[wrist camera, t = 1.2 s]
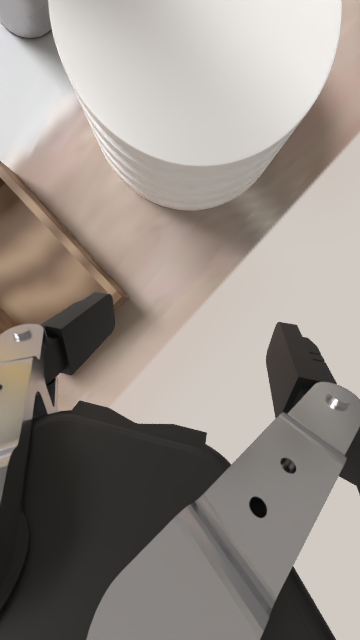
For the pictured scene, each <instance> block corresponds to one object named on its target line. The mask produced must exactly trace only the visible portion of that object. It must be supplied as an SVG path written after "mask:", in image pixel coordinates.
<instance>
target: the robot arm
mask: <svg viewBox="0 0 360 640" xmlns="http://www.w3.org/2000/svg"><path fill="white" fill-rule="evenodd" d="M0 22H1V23H2V25H3V26H4V27H5V28H6V29H8V30H9V31H10V32H12V33H14V34H16V35H18V36H21V37H25V38H34V37H39V36H42V35H44V34H46V33H47V32H49V31H50V30H51V29H52V27H51V21H50V14H49V4H48V0H0ZM114 326H115V317H114V306H113V298H112V295H111V294H107V293H101V292H94V293H92V294H91V295H89V296H88V297H86V298H85V299H83V300H81V301H78V302H75V303H73V304H72V305H70V306H69V307H67V309H64V310H63V311H61V313H58V314H56V315H55V316H53V317H52V318H50V319H49V320H47V321H45V322H44V323H42V324H41V325H37V324H23V325H19V326H15V327H12V328H10V329H8V330H6V331H5V332H3V333H2V334H1V336H0V640H336V639H335V637H334V635H333V634H332V632H331V630H330V629H329V627H328V625H327V623H326V622H325V620H324V618H323V617H322V615H321V613H320V611H319V610H318V608H317V606H316V605H315V603H314V601H313V599H312V598H311V596H310V594H309V593H308V591H307V589H306V588H305V586H304V584H303V582H302V581H301V579H300V577H299V575H298V574H297V572H296V570H295V569H294V567H293V565H294V563H295V561H296V559H297V557H298V555H299V553H300V551H301V549H302V547H303V545H304V543H305V541H306V539H307V537H308V535H309V533H310V531H311V529H312V527H313V525H314V523H315V521H316V519H317V517H318V515H319V513H320V511H321V509H322V507H323V506H324V504H325V502H326V500H327V497H328V496H329V494H330V492H331V490H332V488H333V486H334V484H335V482H336V480H337V478H338V476H340V477H342V478H343V479H345V480H347V481H349V482H351V483H352V484H354V485H356V486H357V488H358V491H359V493H360V399H359V398H358V397H357V396H356V395H355V394H353V393H352V392H350V391H349V390H347V389H345V388H343V387H342V386H339V385H337V383H336V381H335V379H334V378H333V376H332V374H331V372H330V370H329V368H328V366H327V365H326V363H324V359H323V358H322V356H321V353H320V351H319V349H318V348H317V346H316V345H315V344H314V343H313V342H312V341H310V340H309V339H308V338H305V337H302V335H301V333H300V331H299V329H298V326H297V325H294V324H288V323H282V322H278V323H277V324H276V327H275V330H274V332H273V335H272V338H271V341H270V344H269V348H268V350H267V356H266V365H267V371H268V377H269V383H270V388H271V394H272V400H273V406H274V412H275V417H276V419H275V420H274V421H273V422H272V423H271V424H270V425H269V426H268V427H267V428H266V429H265V430H264V431H263V432H262V434H261V435H260V436H259V437H258V438H257V439H256V440H255V441H254V442H253V443H252V444H251V445H250V446H249V447H248V448H247V449H246V450H245V451H244V452H243V453H242V454H241V455H240V457H239V458H238V459H237V460H236V461H235V462H234V463H233V464H232V465H231V464H230V463H229V462H228V461H227V460H226V459H225V458H224V457H223V456H222V455H221V454H220V453H218V452H217V451H216V450H214V449H213V448H211V447H210V446H208V445H206V444H205V442H206V435H207V433H206V432H202V431H198V430H194V429H190V428H186V427H182V426H178V425H174V424H137V423H134V422H132V421H131V420H129V419H127V418H125V417H124V416H122V415H120V414H118V413H117V412H115V411H113V410H111V409H110V408H107V407H103V406H99V405H95V404H91V403H87V402H83V401H79V402H78V403H77V405H76V406H75V407H74V408H73V410H69V411H60V412H58V378H57V375H58V374H59V373H64V374H68V375H73V374H74V373H75V372H76V371H77V369H78V368H79V367H80V366H81V365H82V364H83V363H84V362H85V361H86V360H87V359H88V358H89V357H90V355H91V354H92V353H93V352H94V351H95V350H96V349H97V348H98V347H99V346H100V345H101V344H102V343H103V341H104V340H105V339H106V338H107V337H108V336H109V335H110V334H111V333H112V331H113V329H114Z"/></svg>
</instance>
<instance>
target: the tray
mask: <svg viewBox="0 0 360 640" xmlns="http://www.w3.org/2000/svg"><path fill="white" fill-rule="evenodd" d="M94 292H101V293H107V294H111V295H112V298H113V306H114V310H115V309H116V308H117V307H118V306H119V305H120V304H122V303H123V302H124V301H125V300H126V299H127V298H128V296H127V295H126V294H125V292H124V291H123V290H122V289H121V288H120V287H119V286H118V285H117V284H116V283H115V282H114V281H113V279H112V278H111V277H110V276H109V275H108V274H107V273H106V272H105V271H104V270H103V269H102V267H101V266H100V265H99V264H98V263H97V262H96V261H95V260H94V259H93V258H92V257H91V256H90V254H89V253H88V252H87V251H86V250H85V249H84V248H83V247H82V246H81V245H80V244H79V243H78V241H77V240H76V239H75V238H74V237H73V236H72V235H71V234H70V233H69V232H68V231H67V230H66V228H65V227H64V226H63V225H62V224H61V223H60V222H59V221H58V220H57V219H56V218H55V216H54V215H53V214H52V213H51V212H50V211H49V210H48V209H47V208H46V207H45V206H44V205H43V203H42V202H41V201H40V200H39V199H38V198H37V197H36V196H35V195H34V194H33V193H32V192H31V190H30V189H29V188H28V187H27V186H26V185H25V184H24V183H23V182H22V181H21V180H20V179H19V177H18V176H17V175H16V174H15V173H14V172H13V171H12V170H10V169H9V168H8V167H7V166H5V165H4V164H3V163H2V162H1V161H0V336H1V334H2V333H3V332H5V331H6V330H8V329H10V328H12V327H15V326H19V325H23V324H37V325H41V324H42V323H44V322H45V321H47V320H49V319H50V318H52V317H53V316H55V315H56V314H58V313H61V311H63V310H64V309H67V307H69V306H70V305H72V304H73V303H75V302H78V301H81V300H83V299H85V298H86V297H88V296H89V295H91V294H92V293H94Z"/></svg>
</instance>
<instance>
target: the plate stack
mask: <svg viewBox="0 0 360 640" xmlns="http://www.w3.org/2000/svg"><path fill="white" fill-rule="evenodd" d="M48 4H49V14H50V21H51V27H52V32H53V36H54V40H55V44H56V47H57V50H58V53H59V56H60V59H61V62H62V64H63V66H64V69H65V71H66V73H67V75H68V78H69V80H70V82H71V84H72V86H73V88H74V91H75V93H76V95H77V97H78V100H79V102H80V104H81V106H82V108H83V110H84V113H85V115H86V117H87V119H88V122H89V124H90V126H91V128H92V130H93V132H94V135H95V137H96V139H97V141H98V143H99V146H100V148H101V150H102V152H103V154H104V156H105V158H106V160H107V161H108V163H109V164H110V166H111V167H112V169H113V170H114V172H115V173H116V174H117V175H118V176H119V177H120V179H121V180H122V181H123V182H124V183H125V184H126V185H127V186H129V187H130V188H131V189H132V190H133V191H135V192H136V193H138V194H139V195H141V196H142V197H144V198H146V199H147V200H149V201H151V202H154V203H156V204H158V205H161V206H164V207H168V208H172V209H178V210H203V209H208V208H213V207H216V206H219V205H222V204H224V203H227V202H229V201H231V200H232V199H234V198H236V197H238V196H239V195H241V194H242V193H243V192H245V191H246V190H247V189H248V188H249V187H250V186H251V185H253V184H254V182H255V181H256V180H257V179H258V178H259V177H260V176H261V174H262V173H263V172H264V170H265V169H266V168H267V166H268V165H269V164H270V162H271V161H272V160H273V158H274V157H275V155H276V154H277V153H278V152H279V150H280V149H281V148H282V146H283V145H284V143H285V142H286V141H287V139H288V138H289V137H290V136H291V134H292V133H293V132H294V130H295V129H296V127H297V126H298V125H299V123H300V122H301V121H302V119H303V118H304V117H305V115H306V114H307V113H308V111H309V110H310V109H311V107H312V106H313V104H314V103H315V101H316V99H317V98H318V96H319V94H320V93H321V91H322V89H323V87H324V85H325V82H326V80H327V78H328V75H329V73H330V70H331V68H332V65H333V61H334V58H335V54H336V51H337V46H338V41H339V35H340V28H341V14H342V0H48Z"/></svg>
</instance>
